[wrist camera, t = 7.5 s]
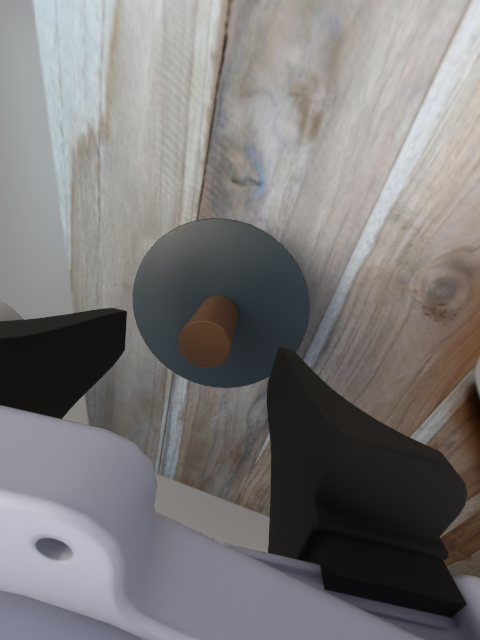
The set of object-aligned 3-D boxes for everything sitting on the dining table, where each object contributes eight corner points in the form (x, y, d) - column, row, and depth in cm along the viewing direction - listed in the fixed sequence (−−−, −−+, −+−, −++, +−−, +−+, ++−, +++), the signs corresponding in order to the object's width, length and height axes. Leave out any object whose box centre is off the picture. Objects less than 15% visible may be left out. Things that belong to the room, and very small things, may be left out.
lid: (135, 359, 18) (88, 410, 13) (147, 198, 14) (85, 185, 9) (279, 393, 18) (286, 456, 13) (331, 243, 14) (369, 253, 9)
